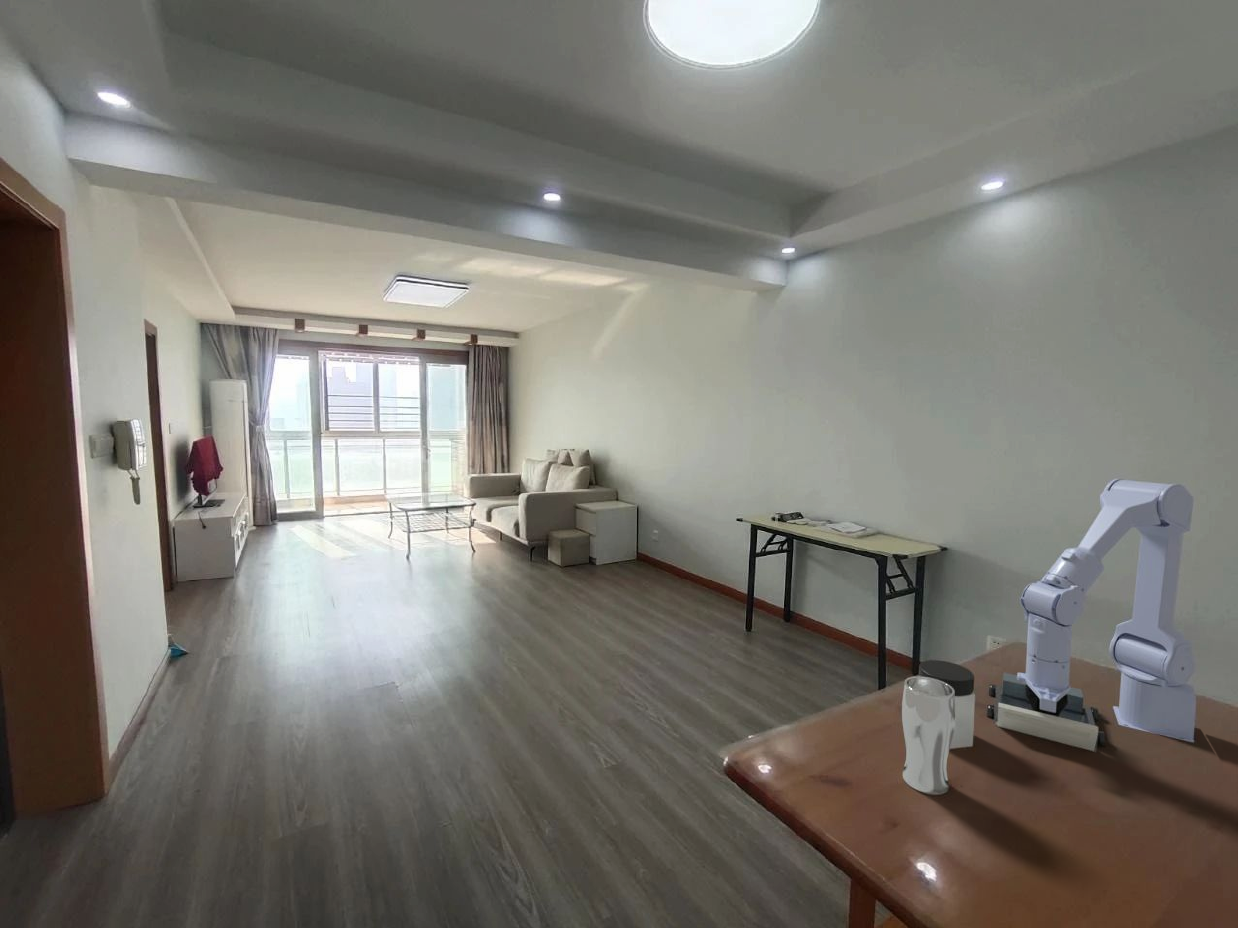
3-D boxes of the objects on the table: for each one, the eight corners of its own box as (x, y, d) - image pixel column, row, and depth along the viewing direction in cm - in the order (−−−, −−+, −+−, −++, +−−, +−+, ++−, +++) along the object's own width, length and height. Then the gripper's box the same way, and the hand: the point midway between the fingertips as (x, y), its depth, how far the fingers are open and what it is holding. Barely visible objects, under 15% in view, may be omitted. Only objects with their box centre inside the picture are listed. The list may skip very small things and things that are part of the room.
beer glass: (891, 766, 87) (894, 675, 86) (936, 767, 87) (940, 675, 86) (913, 796, 80) (917, 697, 79) (962, 797, 80) (966, 698, 79)
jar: (981, 739, 95) (984, 671, 94) (963, 758, 89) (966, 686, 88) (925, 718, 101) (928, 654, 100) (905, 734, 96) (908, 667, 95)
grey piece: (1094, 712, 103) (1096, 692, 103) (1105, 754, 90) (1107, 730, 90) (989, 688, 112) (990, 669, 112) (986, 723, 100) (987, 701, 99)
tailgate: (1095, 749, 91) (1100, 726, 88) (1095, 755, 90) (1101, 732, 87) (995, 723, 99) (996, 701, 95) (995, 729, 98) (996, 707, 95)
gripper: (1018, 634, 101) (1015, 705, 102) (1018, 666, 89) (1014, 746, 90) (1068, 643, 96) (1064, 717, 98) (1075, 677, 85) (1070, 761, 86)
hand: (1044, 732), depth 94 cm, fingers closed, pressing on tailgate
